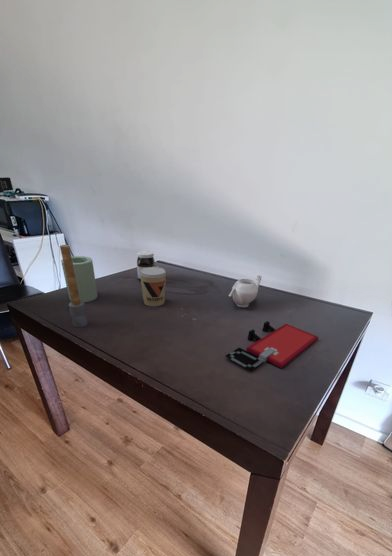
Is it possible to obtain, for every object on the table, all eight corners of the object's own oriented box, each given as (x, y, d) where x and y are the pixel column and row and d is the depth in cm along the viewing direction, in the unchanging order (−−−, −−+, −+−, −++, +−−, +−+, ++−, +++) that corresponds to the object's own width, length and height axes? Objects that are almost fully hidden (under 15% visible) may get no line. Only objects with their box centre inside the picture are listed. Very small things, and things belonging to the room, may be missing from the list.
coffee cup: (143, 308, 102) (141, 275, 95) (140, 298, 109) (138, 267, 103) (168, 306, 104) (168, 274, 98) (164, 296, 112) (163, 266, 105)
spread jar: (139, 275, 132) (137, 249, 125) (163, 276, 132) (163, 250, 126) (136, 284, 122) (134, 256, 115) (162, 285, 122) (162, 257, 116)
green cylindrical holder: (63, 300, 104) (55, 262, 97) (78, 290, 113) (71, 255, 105) (89, 303, 103) (82, 265, 95) (102, 293, 111) (97, 257, 104)
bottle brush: (70, 326, 88) (52, 246, 75) (77, 320, 92) (61, 243, 79) (83, 328, 88) (67, 248, 75) (90, 321, 91) (76, 244, 78)
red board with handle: (219, 355, 77) (266, 382, 69) (220, 347, 76) (268, 373, 68) (275, 323, 96) (317, 340, 88) (276, 315, 95) (320, 332, 87)
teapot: (216, 308, 104) (218, 284, 99) (246, 294, 117) (250, 272, 112) (238, 316, 99) (241, 291, 94) (267, 301, 112) (271, 278, 107)
